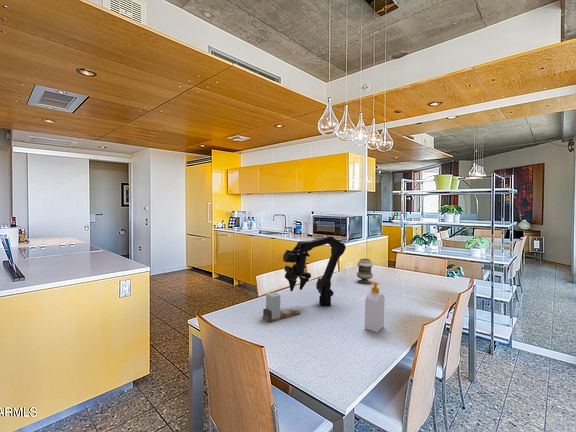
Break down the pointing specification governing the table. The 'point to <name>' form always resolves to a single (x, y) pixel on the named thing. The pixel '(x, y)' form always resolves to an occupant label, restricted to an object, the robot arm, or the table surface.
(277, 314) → the block
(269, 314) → the rail board
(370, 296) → the soap bottle
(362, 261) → the stone urn vase
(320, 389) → the table surface
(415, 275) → the table surface
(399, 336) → the table surface
